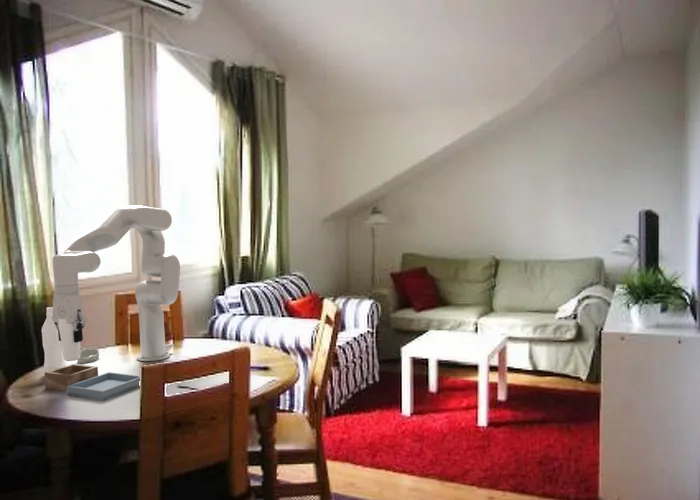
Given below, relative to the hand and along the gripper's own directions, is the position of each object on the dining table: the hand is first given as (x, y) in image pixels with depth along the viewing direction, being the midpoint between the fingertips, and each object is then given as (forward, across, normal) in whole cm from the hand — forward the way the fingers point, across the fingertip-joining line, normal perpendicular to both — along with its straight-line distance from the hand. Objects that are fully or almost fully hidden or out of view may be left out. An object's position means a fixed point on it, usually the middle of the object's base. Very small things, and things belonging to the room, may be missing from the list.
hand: (70, 340), depth 213 cm
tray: (+16, +16, -1) cm, 22 cm away
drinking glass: (+7, 0, 0) cm, 7 cm away
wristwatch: (+17, -22, +27) cm, 39 cm away
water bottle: (+16, -18, +7) cm, 25 cm away
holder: (+16, 0, -1) cm, 16 cm away
